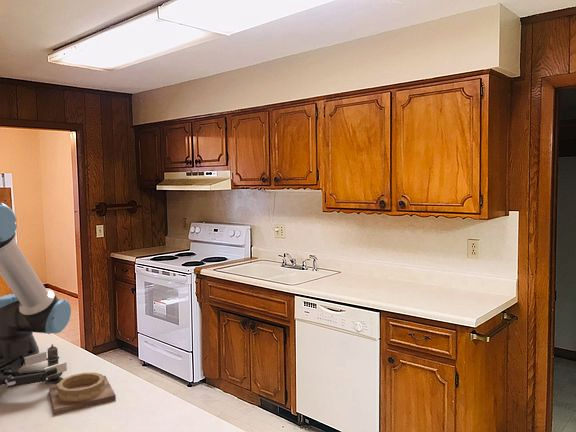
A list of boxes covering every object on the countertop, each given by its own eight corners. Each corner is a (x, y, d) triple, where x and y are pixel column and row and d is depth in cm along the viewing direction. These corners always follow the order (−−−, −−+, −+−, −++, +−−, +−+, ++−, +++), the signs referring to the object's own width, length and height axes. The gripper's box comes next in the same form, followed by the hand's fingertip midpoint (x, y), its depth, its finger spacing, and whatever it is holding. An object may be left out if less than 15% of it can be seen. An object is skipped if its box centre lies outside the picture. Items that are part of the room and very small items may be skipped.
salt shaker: (56, 385, 149) (54, 348, 148) (39, 384, 150) (37, 346, 149) (68, 377, 154) (66, 341, 153) (52, 376, 156) (50, 340, 154)
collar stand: (49, 392, 144) (48, 377, 144) (105, 380, 152) (104, 366, 152) (54, 414, 131) (53, 398, 130) (115, 400, 139) (115, 385, 138)
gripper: (-35, 384, 144) (38, 362, 160) (-2, 410, 128) (75, 382, 144) (-37, 360, 143) (37, 340, 159) (-4, 382, 127) (74, 358, 144)
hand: (55, 360), depth 152 cm, fingers open, 13 cm apart
